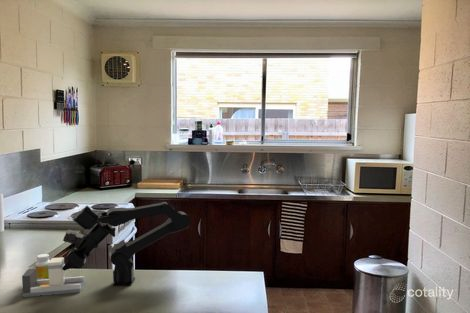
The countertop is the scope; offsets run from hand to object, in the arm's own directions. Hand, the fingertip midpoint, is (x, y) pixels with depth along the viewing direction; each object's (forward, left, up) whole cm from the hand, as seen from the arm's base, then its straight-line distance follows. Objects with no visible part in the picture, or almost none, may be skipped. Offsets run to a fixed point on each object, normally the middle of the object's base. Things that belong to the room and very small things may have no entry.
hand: (63, 269), depth 136 cm
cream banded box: (+2, 0, -5) cm, 6 cm away
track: (+3, 0, -7) cm, 8 cm away
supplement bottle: (+11, -8, -7) cm, 16 cm away
